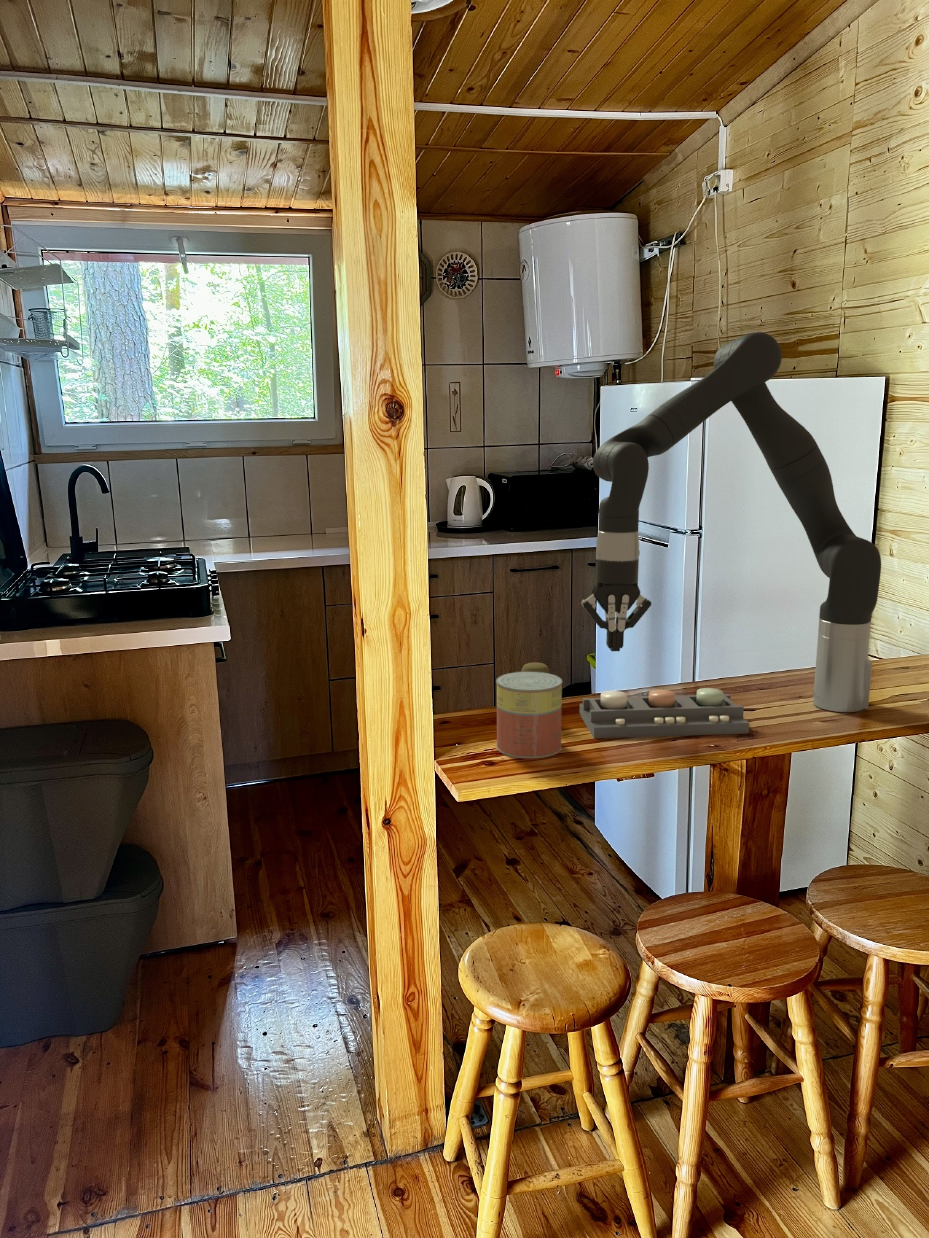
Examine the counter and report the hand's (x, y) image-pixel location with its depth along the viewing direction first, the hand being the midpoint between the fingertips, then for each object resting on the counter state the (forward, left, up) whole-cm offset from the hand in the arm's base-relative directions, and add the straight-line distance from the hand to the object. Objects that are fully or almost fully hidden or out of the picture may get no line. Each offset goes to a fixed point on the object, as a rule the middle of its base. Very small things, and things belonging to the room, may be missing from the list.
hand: (614, 650), depth 168 cm
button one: (0, 0, -10) cm, 10 cm away
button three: (-9, 0, -10) cm, 14 cm away
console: (-9, 0, -14) cm, 17 cm away
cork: (+14, -4, -14) cm, 20 cm away
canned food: (+17, +10, -14) cm, 24 cm away
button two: (-18, 0, -10) cm, 21 cm away
